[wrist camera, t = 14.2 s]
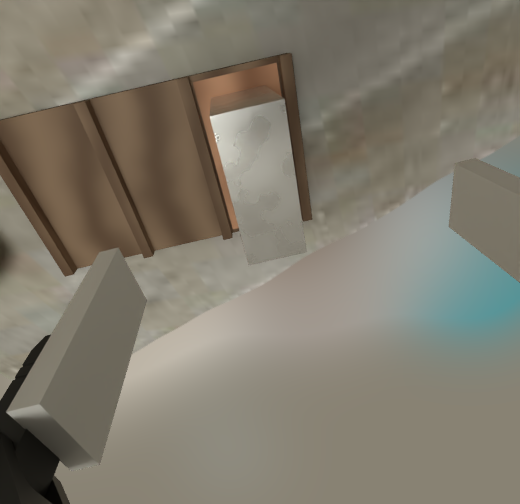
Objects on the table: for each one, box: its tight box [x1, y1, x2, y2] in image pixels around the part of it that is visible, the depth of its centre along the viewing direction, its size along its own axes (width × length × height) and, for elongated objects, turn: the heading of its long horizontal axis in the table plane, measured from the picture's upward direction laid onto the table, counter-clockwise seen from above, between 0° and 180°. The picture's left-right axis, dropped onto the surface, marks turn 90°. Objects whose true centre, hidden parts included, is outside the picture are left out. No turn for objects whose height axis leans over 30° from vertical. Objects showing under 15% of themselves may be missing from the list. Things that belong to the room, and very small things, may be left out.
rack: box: [0, 53, 312, 276], centre depth 33 cm, size 28×16×2 cm, turn 101°
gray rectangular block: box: [210, 85, 307, 265], centre depth 29 cm, size 5×12×10 cm, turn 11°
